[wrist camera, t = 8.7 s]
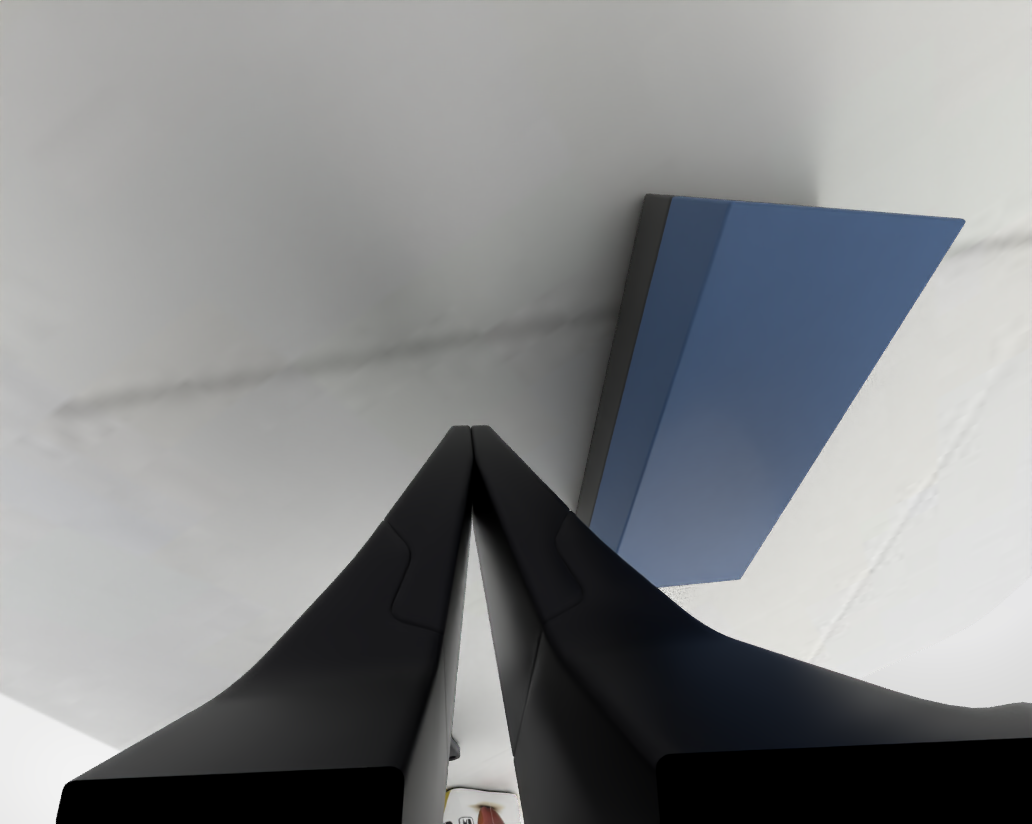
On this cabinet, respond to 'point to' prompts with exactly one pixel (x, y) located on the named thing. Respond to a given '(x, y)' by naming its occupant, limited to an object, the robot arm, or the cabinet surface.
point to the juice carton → (480, 807)
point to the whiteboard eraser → (739, 369)
